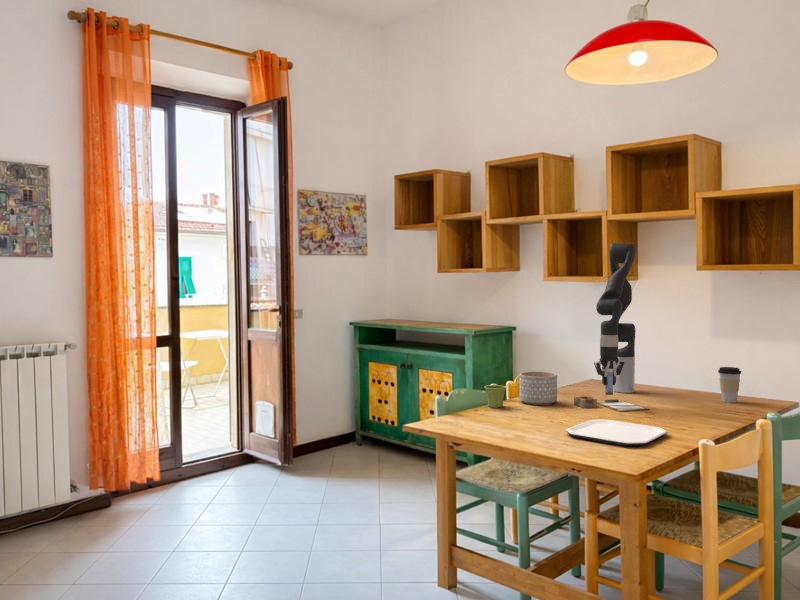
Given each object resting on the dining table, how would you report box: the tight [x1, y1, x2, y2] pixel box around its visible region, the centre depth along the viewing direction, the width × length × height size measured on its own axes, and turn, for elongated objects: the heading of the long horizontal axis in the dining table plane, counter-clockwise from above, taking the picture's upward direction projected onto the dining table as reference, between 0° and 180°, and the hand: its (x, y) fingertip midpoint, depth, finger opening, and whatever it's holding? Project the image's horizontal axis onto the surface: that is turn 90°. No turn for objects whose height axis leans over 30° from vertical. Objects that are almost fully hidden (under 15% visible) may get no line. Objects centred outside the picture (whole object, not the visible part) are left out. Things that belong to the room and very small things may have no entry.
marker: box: [604, 368, 614, 396], centre depth 284 cm, size 3×3×11 cm
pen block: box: [573, 395, 598, 409], centre depth 284 cm, size 7×7×4 cm
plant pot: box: [484, 384, 507, 409], centre depth 284 cm, size 9×9×9 cm
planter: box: [519, 371, 558, 406], centre depth 293 cm, size 16×16×13 cm
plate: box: [565, 419, 669, 447], centre depth 232 cm, size 29×29×2 cm
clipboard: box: [597, 398, 650, 413], centre depth 282 cm, size 18×14×2 cm
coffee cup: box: [717, 366, 742, 404], centre depth 291 cm, size 9×9×15 cm
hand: (608, 384), depth 284 cm, fingers closed on marker, 3 cm apart
